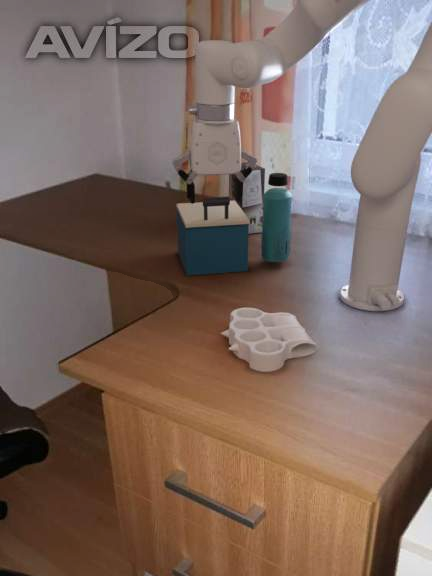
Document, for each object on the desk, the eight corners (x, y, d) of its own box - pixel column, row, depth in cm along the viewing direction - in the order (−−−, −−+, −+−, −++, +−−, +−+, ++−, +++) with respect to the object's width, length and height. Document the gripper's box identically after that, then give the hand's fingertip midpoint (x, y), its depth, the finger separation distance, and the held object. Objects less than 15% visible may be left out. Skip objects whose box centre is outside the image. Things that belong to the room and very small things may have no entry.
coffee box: (264, 232, 159) (266, 168, 150) (241, 235, 157) (242, 170, 148) (249, 222, 166) (251, 161, 157) (227, 225, 164) (228, 163, 155)
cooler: (247, 271, 136) (248, 222, 130) (186, 275, 134) (185, 226, 128) (234, 248, 148) (234, 204, 142) (178, 252, 146) (176, 207, 140)
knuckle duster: (322, 366, 100) (236, 376, 98) (288, 319, 115) (212, 326, 112) (324, 348, 98) (236, 358, 96) (289, 302, 113) (212, 310, 111)
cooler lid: (249, 223, 129) (250, 198, 126) (185, 227, 127) (184, 202, 124) (234, 203, 142) (235, 180, 140) (176, 207, 140) (175, 183, 137)
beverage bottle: (287, 269, 136) (292, 178, 126) (258, 267, 138) (261, 176, 127) (290, 259, 142) (295, 170, 131) (262, 257, 143) (265, 169, 132)
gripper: (173, 117, 114) (176, 208, 123) (262, 115, 117) (258, 204, 126) (168, 110, 120) (171, 197, 130) (253, 109, 123) (250, 194, 132)
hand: (214, 200), depth 128 cm, fingers open, 9 cm apart
